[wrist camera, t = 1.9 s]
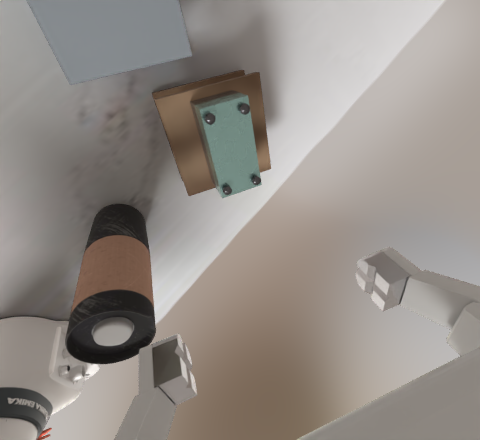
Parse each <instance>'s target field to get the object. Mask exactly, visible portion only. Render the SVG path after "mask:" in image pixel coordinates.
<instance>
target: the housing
mask: <svg viewBox="0 0 480 440" xmlns="http://www.w3.org/2000/svg"><path fill="white" fill-rule="evenodd" d="M190 104H191V107H192V111H193V114H194V118H195V122H196V125H197V129H198V133H199V136H200V140H201V143H202V147H203V151H204V154H205V158H206V161H207V165H208V169H209V172H210V176H211V180H212V182H213V184H214V185H215V187H216V189H217V190H218V192H219V193H220V195H221V196H222V198H224V197H227V196H230V195H233V194H236V193H239V192H242V191H245V190H248V189H251V188H254V187H256V186H259V185H261V178H260V171H259V165H258V158H257V152H256V145H255V138H254V132H253V125H252V119H251V112H250V105H249V99H248V95H245V94H242V93H239V92H237V91H234V90H230V91H227V92H223V93H219V94H215V95H212V96H208V97H204V98H201V99H197V100H193V101H190Z"/></svg>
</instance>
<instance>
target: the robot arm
mask: <svg viewBox="0 0 480 440" xmlns="http://www.w3.org/2000/svg"><path fill="white" fill-rule="evenodd" d="M357 266H358V267H359V268H358V270H357V271H356V280H357V283H358V284H359V286H360V287H361V288H362V290H363V291H365V292H367V293H369V294H371V299H372V300H373V302H374V303H375V304H376V305H377V306H378V307H379V308H380V309H381V310H382V311H385V310H387V309H389V308H392V307H394V306H397V305H399V304H400V306H402V307H404V308H406V309H409V310H411V311H413V312H415V313H417V314H419V315H421V316H423V317H425V318H427V319H429V320H431V321H433V322H435V323H438V324H439V325H442V326H444V327H446V328H448V329H450V330H451V332H450V333H449V335H448V337H447V343H448V344H449V345H450V346H451V347H452V348H453V349H454V350H455V351H456V352H457V353H458V354H459V355H460V357H458V358H456V359H454V360H452V361H450V362H448V363H446V364H444V365H442V366H440V367H438V368H436V369H434V370H432V371H430V372H429V373H426V374H425V375H423V376H421V377H419V378H417V379H415V380H413V381H411V382H409V383H407V384H405V385H403V386H401V387H399V388H397V389H395V390H393V391H391V392H389V393H387V394H385V395H383V396H381V397H379V398H377V399H375V400H373V401H371V402H370V403H367V404H365V405H364V406H362V407H360V408H358V409H356V410H354V411H352V412H350V413H348V414H346V415H344V416H342V417H340V418H338V419H336V420H334V421H332V422H330V423H328V424H326V425H324V426H322V427H320V428H318V429H316V430H315V431H312V432H311V433H308V434H307V435H305V436H303V437H301V438H299V439H297V440H480V286H476V285H473V284H470V283H467V282H463V281H460V280H457V279H454V278H450V277H447V276H443V275H440V274H437V273H434V272H430V271H427V270H424V271H421V270H420V269H419V268H418V267H416V266H415V265H414V264H412V263H411V262H410V261H409V260H407V259H406V258H405V257H403V256H402V255H401V254H399V253H398V252H397V251H396V250H394V249H393V248H391V247H387V248H384V249H382V250H380V251H376V252H374V253H372V254H369V255H367V256H365V257H363V258H360V259H359V260H358V261H357ZM68 324H69V321H54V320H49V319H44V318H38V317H11V318H5V319H1V320H0V440H42V439H44V438H47V437H49V436H50V435H46V436H43V435H45V434H46V433H48V432H49V431H50V430H51V429H52V428H49V429H46V430H44V431H43V429H44V427H45V425H46V424H47V422H48V420H49V418H50V416H51V415H53V414H54V413H56V412H58V411H59V410H61V409H62V408H64V407H65V406H67V405H69V404H70V403H72V402H73V401H74V400H75V399H76V398H77V397H78V396H79V395H80V393H81V391H82V389H83V385H84V381H85V380H87V379H88V378H90V377H91V376H93V375H94V374H95V373H96V372H97V371H98V370H99V368H100V364H90V363H85V362H82V361H79V360H77V359H75V358H74V357H72V356H71V355H70V354H69V353H68V351H67V349H66V346H65V338H66V333H67V328H68ZM138 358H139V395H137V396H135V397H134V399H133V401H132V404H131V406H130V408H129V410H128V412H127V414H126V416H125V418H124V420H123V422H122V424H121V426H120V428H119V430H118V433H117V435H116V437H115V439H114V440H167V438H168V434H169V431H170V428H171V424H172V421H173V418H174V414H175V411H176V405H178V404H180V403H182V402H184V401H186V400H188V399H191V398H192V397H195V396H197V390H196V384H195V379H194V376H193V375H192V373H191V372H190V371H191V368H192V362H191V357H190V354H189V350H188V348H187V346H186V345H185V343H182V339H181V336H180V335H179V334H176V335H173V336H171V337H168V338H166V339H163V340H161V341H158V342H156V343H153V344H151V345H148V346H146V347H143V348H141V349H140V350H139V355H138ZM42 436H43V437H42Z"/></svg>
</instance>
